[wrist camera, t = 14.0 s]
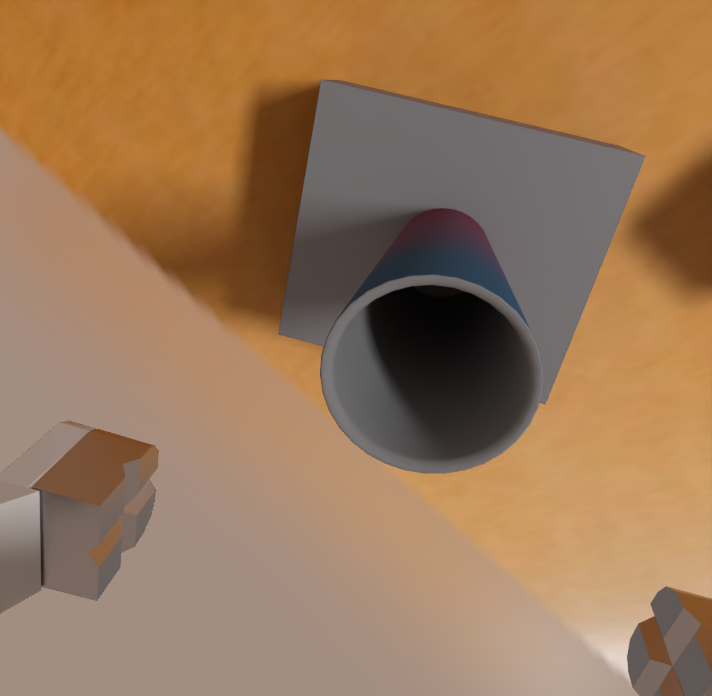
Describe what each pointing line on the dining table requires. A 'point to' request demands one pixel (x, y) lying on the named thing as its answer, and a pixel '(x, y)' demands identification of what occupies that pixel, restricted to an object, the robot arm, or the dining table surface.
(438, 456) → the cup
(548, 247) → the plinth
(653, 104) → the dining table surface
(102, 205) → the dining table surface
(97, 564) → the robot arm
